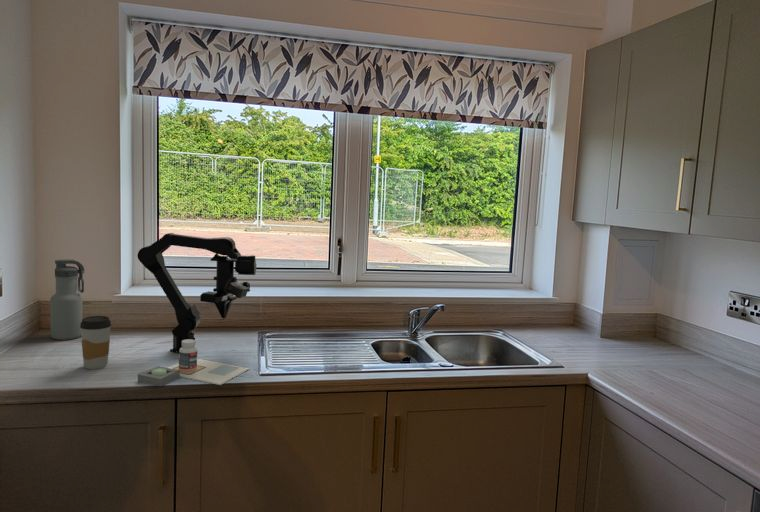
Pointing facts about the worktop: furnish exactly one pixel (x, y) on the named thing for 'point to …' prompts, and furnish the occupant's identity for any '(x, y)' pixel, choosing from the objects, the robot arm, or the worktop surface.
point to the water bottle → (67, 301)
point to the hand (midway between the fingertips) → (223, 318)
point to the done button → (159, 372)
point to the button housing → (158, 380)
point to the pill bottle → (188, 355)
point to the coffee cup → (95, 341)
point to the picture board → (211, 372)
